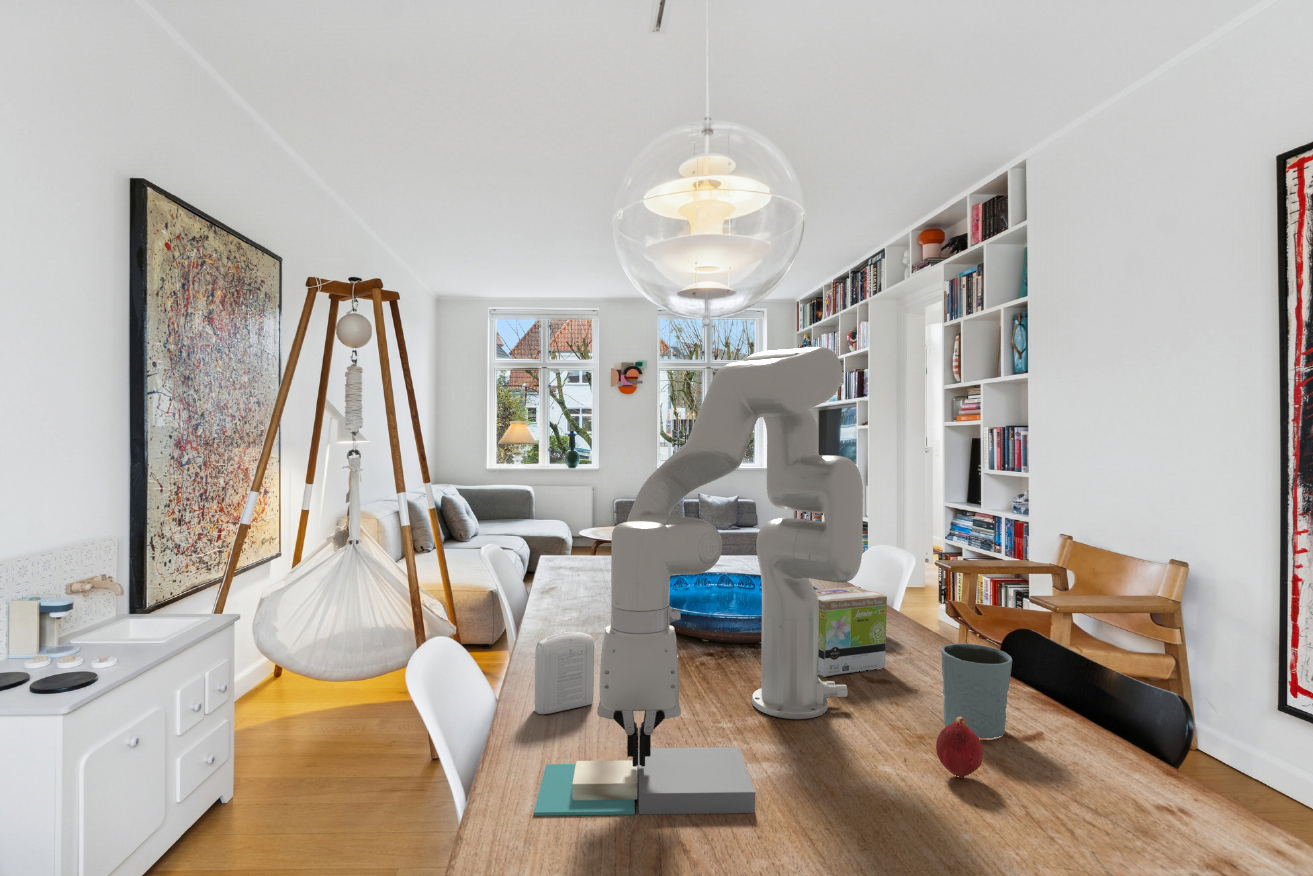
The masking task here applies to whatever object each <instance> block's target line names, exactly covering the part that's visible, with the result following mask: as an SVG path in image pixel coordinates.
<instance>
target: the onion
mask: <svg viewBox="0 0 1313 876" xmlns="http://www.w3.org/2000/svg"><path fill="white" fill-rule="evenodd" d="M935 742H936V743H935V750H936V755H937V757H938V760H939V762H940V764H941V765H942V766H943V767H944V768H945V769H946V770H947V771H948V772H949V773H951V774H952V775H953V776H955V775H956V776H959V777H963V778H964V776H965V777H966V776H968V775H971V774H973V773H974V772H975V771H977V770H978V769H979V768H980V767H981V765H982V764H983V763H982V762H983V759H984V747H983V745H982V742H981V740H979V738H978V737H977V735H976V734H975V733H974V731H973V730H972V729H970V728H969V727H968V726H966V725H965V719H963V718H962V717H961V716H960V717H957V718H956V720H955V722H954V723H953V724H951V725H948V726H945V727H944V728H943V729H942V730H941V731H940V733H939V734H938V736H937V738H936V741H935ZM956 776H955V777H956Z"/></svg>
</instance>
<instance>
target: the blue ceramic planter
mask: <svg viewBox="0 0 1313 876" xmlns="http://www.w3.org/2000/svg"><path fill="white" fill-rule="evenodd" d="M940 653H941V655H940V656H941V672H942V680H943V683H942V684H943V688H942V693H943V697H944V698H943V723H944V726H945V725H946V726H948V725H951V724H953V723H954V722H955V720H956V718H957V717H960V716H961V717H962V718H963V719H965V725H966V726H968V727H969V728H970V729H972V730H973V731H974V733H975V734H976V735H977V737H978V738H979V737H980V738H994V737H999V736H1002V735H1003V734H1004V735H1005V733H1006V732H1005V730H1006V721H1007V714H1006V713H1007V704H1008V693H1009V690H1010V689H1009V688H1010V683H1011V682H1010V681H1011V680H1010V679H1011V675H1012V667H1013V666H1012V664H1013V659H1012V656H1011V655H1009V654H1008V653H1007V652H1006V651H1003V650H1000V649H997V648H995V647H991V646H986V645H981V644H974V643H965V642H963V643H961V642H958V643H949V644H945V645H943V646H942V647H941V649H940ZM946 726H945V727H946Z"/></svg>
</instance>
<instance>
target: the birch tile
mask: <svg viewBox="0 0 1313 876" xmlns="http://www.w3.org/2000/svg"><path fill="white" fill-rule="evenodd" d="M575 764H576V766H575V772H574V778H573V784H572V800H633V799H635V800H638V765H637V766H636V767H633V759H632V760H624V759H623V760H576V761H575Z"/></svg>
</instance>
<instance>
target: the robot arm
mask: <svg viewBox="0 0 1313 876" xmlns="http://www.w3.org/2000/svg"><path fill="white" fill-rule="evenodd" d="M842 379H843V367H842V364H841V361H840V358H839V357H838V356H837V354H836V353H835V352H834V351H833V350H832V349H830V348H828V347H825V346H811V347H810V346H809V347H802V348H801V347H799V348H790V349H777V350H774V349H773V350H766V351H760V352H756V353H752V354H750V355H748V356H746V357H745V358H744V359H743V360H742V361H736V362H731V363H728V364H725V365H723V366H722V367H720V368H719V369H717V371H716V373H715V374H714V375H713V378H712V379H711V382H710V384H709V387H708V389H707V392H706V393H705V397H704V399H703V401H702V403H701V405H700V409H699V411H698V414H697V416H696V419H695V421H694V424H693V426H692V428H691V431H690V432H689V437H688V439H687V440H686V442H685V444H684V445H682V447H680V449H678V450H677V451H676V452H674V453H673V454H672V455H671V456H669V458H668V459H667V460H665V461H664V462H663V463H662V464H661V465H660V466H659V467H657V469H656V470H655V471H653V472H652V474H650V476H649V477H648V478H647V479H646V481H645V482H644V483H643V485H642V486H641V488H640V489H639V492H638V493H637V495H636V497H635V500H634V502H633V504H632V507H631V510H630V511H629V513H628V516H627V519H626V521H624V522H621V523H618V524H617V525H616V526H614V528H613V529H612V531H611V532H612V533H611V549H610V550H611V553H610V554H611V561H610V563H611V564H610V565H611V569H610V570H611V573H610V575H611V576H610V579H611V580H610V583H611V587H610V625H607V626H606V627H605V628H604V632H603V638H602V645H601V654H600V656H601V657H600V667H599V668H600V672H599V702H598V706H597V711H596V712H597V716H598V717H600V718H603V719H604V718H605V719H608V720H613V721H615V722H616V724H618V726H620V727H621V729H623V730H624V732H625V734H626V735H627V737H626V738H627V741H626V742H627V745H626V746H627V747H626V752H627V753H626V757H627V758H629V757H631V758H632V760H633V767H636V766H637V767H638V748H639V765H641V766H645V757H650V755H651V748H652V747H651V743H652V741H651V738H652V734H653V732H654V730H655V729H656V728H657V727H658V726H659V725H660V724H661V723H662V722H663V721H664V720H668V719H669V720H670V719H672V718H677V717H679V716H681V714H682V711H681V706H680V702H679V701H680V700H679V699H680V673H679V672H680V669H679V667H680V666H679V655H678V654H679V653H678V645H677V644H678V643H677V636H676V635H677V634H676V631H675V627H674V626H673V625H671V624H672V622H675V621H681V618H682V617H681V609H676V608H672V606H671V605H670V588H671V587H670V583H671V581H670V579H671V576H675V575H679V576H680V575H684V576H685V575H688V576H689V575H699V574H703V573H705V572H707V571H709V570H711V569H712V568H714V566H715V565H716V564H717V563H718V561H719V560H720V558H721V555H722V552H723V551H722V550H723V540H722V537H721V534H720V531H719V530H718V529H717V527H715V526H714V524H712V523H710V522H709V521H707V520H705V519H701V518H698V517H697V518H696V517H691V516H689V517H688V516H682V515H671V513H672V512H673V510H674V508H675V507H676V506H677V505H678V503H679V502H681V500H682V499H683V498H685V497H686V496H687V495H688V494H690V493H691V492H692V491H694V490H697V489H698V488H701V487H702V486H705V485H707V484H709V483H712V482H715V481H716V480H719V479H722V478H723V477H725V476H728V475H729V474H732V473H733V472H734V471H736V470H737V469H738V468H739V467H740V466H741V464H742V461H743V459H744V457H745V456H744V455H745V453H746V451H747V447H748V445H749V442H750V439H751V437H752V435H753V431H754V428H755V427H756V424H757V422H758V420H759V419H761V418H763V421H764V424H765V428H766V442H767V443H766V493H767V497H768V500H769V502H770V503H771V504H772V505H773V506H774V507H776V508H778V509H780V510H781V509H782V510H786V511H787V510H788V511H796V512H805V513H817V514H823V517H824V521H822V520H821V521H820V520H813V519H803V518H792V517H779V518H774V519H771V520H768V521H767V522H765V523H763V525H762V526H761V528H760V529H759V530H758V533H757V536H756V544H755V545H756V557H757V559H758V565H759V572H760V579H761V666H760V667H761V668H760V670H761V672H760V673H761V681H760V682H761V684H760V686H761V687H760V688H758V689H757V690H755V691H754V692H753V693H752V695H751V703H752V705H753V707H755V709H757V710H758V711H759V712H762V713H764V714H765V715H769V716H772V717H775V718H782V719H789V720H808V719H813V718H816V717H820V716H822V715H824V714H825V713H826V712H827V710H828V706H829V705H828V703H829V702H828V699H829V697H835V698H841V697H843V698H844V697H848V686H847V685H846V684H836V682H835V680H827V681H822V680H821V678H820V677H819V674H818V669H819V602H818V598H817V594H816V592H815V590H816V589H815V587H814V586H813V583H812V581H811V580H810V579H813V580H819V581H825V582H829V583H847V582H850V581H852V580H853V579H854V578H855V577H856V576H857V575H858V573H859V570H860V567H861V564H862V559H863V557H862V556H863V521H864V518H863V517H864V516H863V514H864V511H863V510H864V488H863V487H864V486H863V479H862V475H861V473H860V470H859V467H858V465H856V463H855V462H854V461H852V459H850V458H848V457H845V456H841V455H826V454H825V455H823V454H821V455H820V454H819V440H818V439H819V437H818V435H819V434H818V432H819V431H818V423H817V421H816V418H815V416H814V414H813V413H812V411H811V409H813V408H815V407H817V406H819V405H821V404H824V403H826V402H828V401H829V400H831V399H832V398H833V397H834V396H835V395H836V393H837V392H838V390H839V389H840V386H841V383H842ZM643 711H644V713H643V714H644V715H643V721H642V722H641V723H640V727H638V724H637V722H636V721H635V716H634V712H643ZM823 713H824V714H823Z"/></svg>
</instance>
